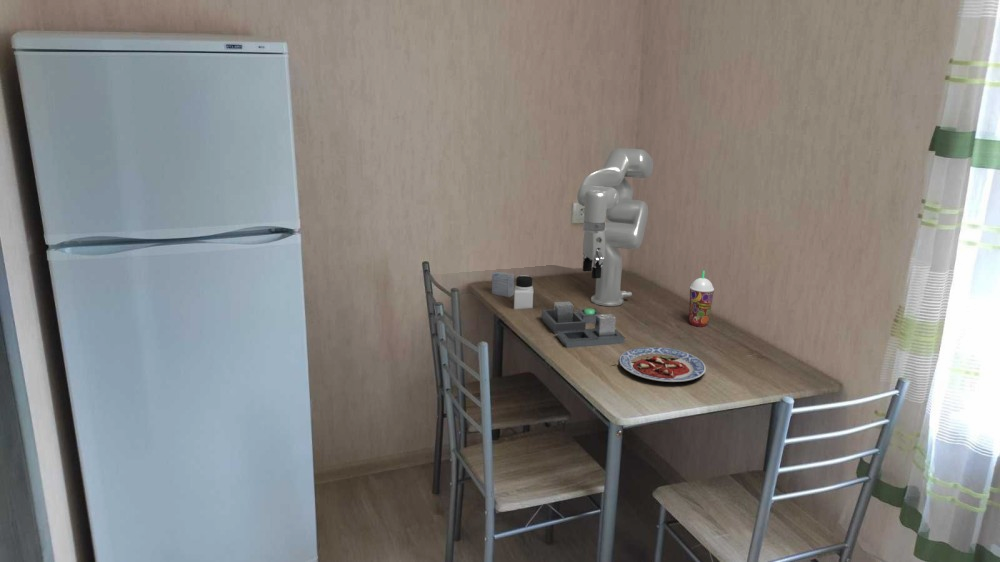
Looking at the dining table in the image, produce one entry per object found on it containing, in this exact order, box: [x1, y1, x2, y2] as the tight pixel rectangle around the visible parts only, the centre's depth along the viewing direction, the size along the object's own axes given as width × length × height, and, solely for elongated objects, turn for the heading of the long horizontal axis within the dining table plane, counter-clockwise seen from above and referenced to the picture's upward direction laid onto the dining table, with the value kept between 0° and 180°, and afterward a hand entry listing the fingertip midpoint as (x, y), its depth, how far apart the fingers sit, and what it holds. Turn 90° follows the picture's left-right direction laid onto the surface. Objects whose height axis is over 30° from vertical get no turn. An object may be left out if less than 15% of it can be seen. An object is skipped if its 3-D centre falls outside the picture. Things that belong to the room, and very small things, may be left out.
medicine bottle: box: [513, 275, 535, 310], centre depth 271 cm, size 7×7×12 cm
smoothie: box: [688, 270, 715, 328], centre depth 256 cm, size 8×8×20 cm
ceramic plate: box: [619, 346, 707, 383], centre depth 220 cm, size 26×26×3 cm
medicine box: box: [491, 271, 515, 298], centre depth 286 cm, size 8×4×9 cm, turn 58°
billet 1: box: [553, 301, 574, 323], centre depth 251 cm, size 6×4×8 cm
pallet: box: [556, 327, 626, 349], centre depth 239 cm, size 20×10×3 cm, turn 104°
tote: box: [541, 308, 587, 335], centre depth 252 cm, size 11×15×4 cm
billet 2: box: [594, 313, 617, 337], centre depth 239 cm, size 6×4×8 cm
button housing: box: [576, 307, 602, 325], centre depth 257 cm, size 7×7×4 cm
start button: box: [584, 307, 595, 314], centre depth 257 cm, size 4×4×4 cm
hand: (591, 274), depth 253 cm, fingers open, 8 cm apart
